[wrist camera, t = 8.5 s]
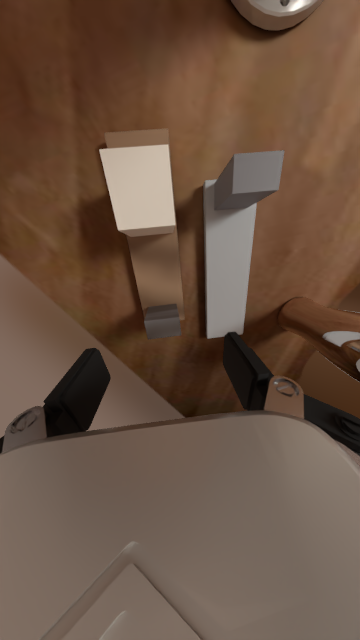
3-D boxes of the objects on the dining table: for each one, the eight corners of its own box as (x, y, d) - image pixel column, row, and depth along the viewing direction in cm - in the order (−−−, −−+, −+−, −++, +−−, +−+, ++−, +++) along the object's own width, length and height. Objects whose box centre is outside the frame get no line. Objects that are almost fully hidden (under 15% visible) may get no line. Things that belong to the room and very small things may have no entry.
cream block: (119, 181, 15) (99, 149, 10) (167, 177, 15) (168, 144, 10) (130, 236, 17) (118, 230, 12) (173, 232, 17) (175, 225, 13)
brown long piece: (107, 140, 14) (71, 69, 9) (168, 136, 14) (169, 65, 9) (146, 321, 23) (140, 342, 17) (184, 316, 23) (189, 336, 17)
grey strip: (203, 184, 16) (221, 149, 11) (254, 180, 17) (297, 144, 11) (205, 335, 25) (217, 358, 19) (239, 331, 25) (260, 352, 20)
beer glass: (277, 337, 26) (395, 425, 13) (271, 304, 24) (417, 373, 10) (315, 322, 26) (482, 398, 12) (314, 286, 23) (532, 333, 9)
